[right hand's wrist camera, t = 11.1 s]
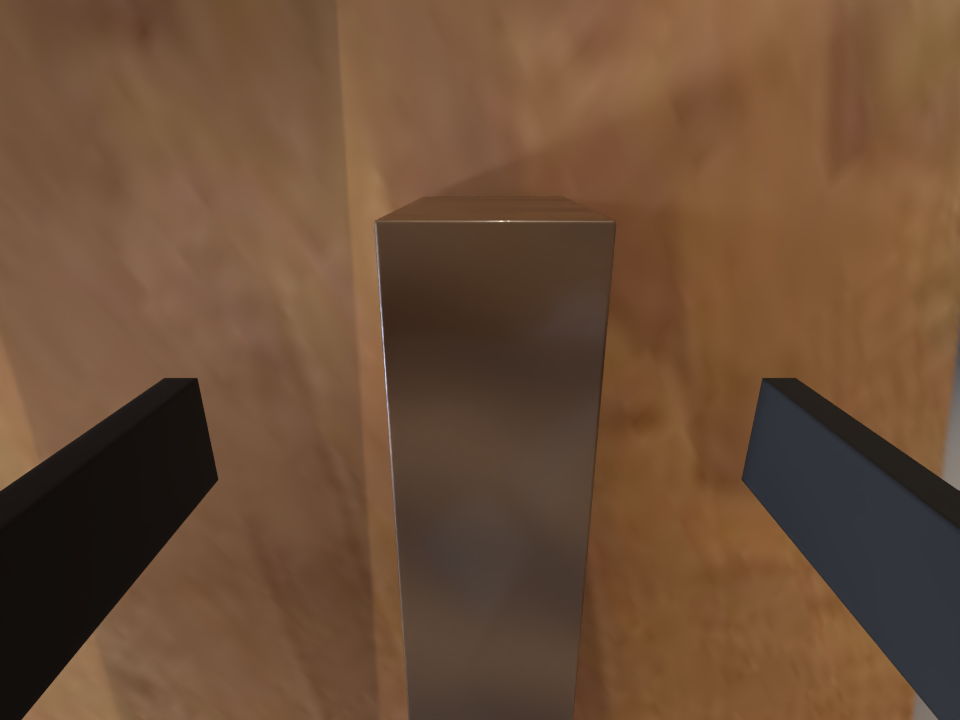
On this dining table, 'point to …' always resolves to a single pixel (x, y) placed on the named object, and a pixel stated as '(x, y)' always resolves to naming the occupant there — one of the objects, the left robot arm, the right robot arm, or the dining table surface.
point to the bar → (493, 443)
